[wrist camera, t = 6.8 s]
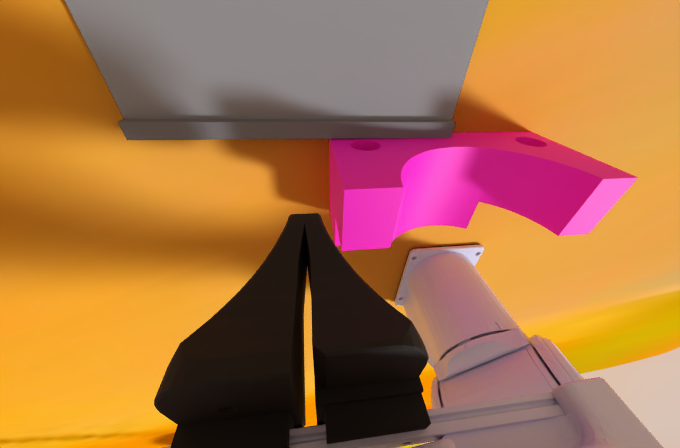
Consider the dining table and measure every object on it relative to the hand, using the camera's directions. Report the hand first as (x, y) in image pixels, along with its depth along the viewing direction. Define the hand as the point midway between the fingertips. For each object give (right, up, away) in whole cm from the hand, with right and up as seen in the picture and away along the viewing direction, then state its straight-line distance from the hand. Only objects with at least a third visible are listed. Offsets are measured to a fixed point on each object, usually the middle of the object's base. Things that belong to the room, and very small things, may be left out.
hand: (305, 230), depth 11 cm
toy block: (+8, +5, +8) cm, 12 cm away
